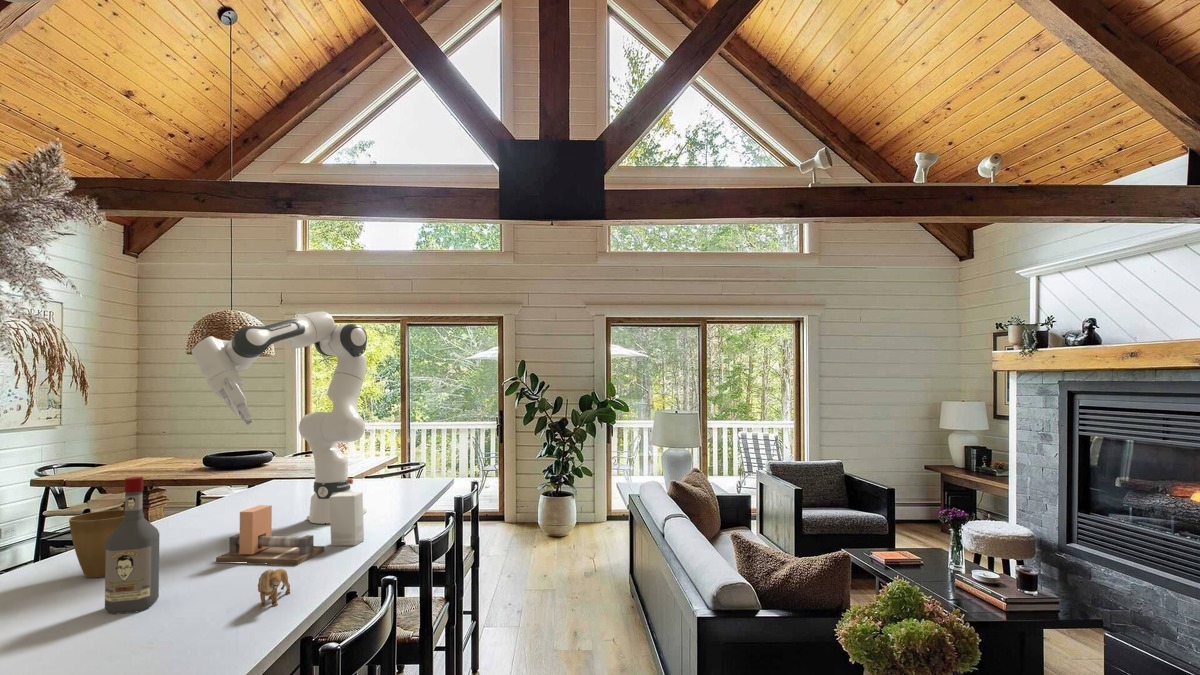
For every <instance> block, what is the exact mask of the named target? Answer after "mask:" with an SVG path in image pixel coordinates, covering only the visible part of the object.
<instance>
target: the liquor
mask: <svg viewBox="0 0 1200 675" xmlns="http://www.w3.org/2000/svg"><path fill="white" fill-rule="evenodd" d="M143 491H144V476H133V477H132V476H131V477H127V478H125V479H124V493H125V497H124V498H125V499H124V500H125V501H124V510H125V515H124V517H123V521H122V523H121V524H120V525H119V526H118V527H117V528H116V529H115V530H114V531H113V532H112V534H111V535H110V536H109V537H108V539H107V541H106V565H105V576H104V583H105V584H104V609H105V611H106V613H108V614H112V615H117V613H121V614H127V613H126V612H131V613H137V612H136V611H138V612H141V610H142V611H145V610H148V609H150V608H151V607H152V606H153V605H154V604H155V603H157V601H158V599H159V596H160V594H159V593H160V589H159V588H160V531H159V530H158V529H157V527H155V526H154V524H152V523H151V522H150V521H148V520H147V519H146V518H145V514H144V511H143V509H144V508H143ZM149 607H150V608H149ZM144 609H145V610H144Z"/></svg>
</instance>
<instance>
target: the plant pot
mask: <svg viewBox="0 0 1200 675" xmlns="http://www.w3.org/2000/svg"><path fill="white" fill-rule="evenodd" d="M124 515H125V509H112V510H111V509H110V510H100V511H93V512H92V511H91V512H87V513H82V514H77V515H74V516H71V517H70V518H69V519H68V522H69V530H70V535H71V539H72V544H73V549H74V552H75V555H76V558H77V560H78V562H79V566H80V568H81V571H82V572H83V574H84V577H85V578H90V579H91V578H102V577H104V578H105V565H106V541H107V539H108V537H109V536H110V535H111V534H112V532H113V531H114V530H115V529H116V528H117V527H118V526H119V525H120V524H121V523H122V521H123V517H124Z"/></svg>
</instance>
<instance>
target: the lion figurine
mask: <svg viewBox="0 0 1200 675" xmlns="http://www.w3.org/2000/svg"><path fill="white" fill-rule="evenodd" d="M281 582H282V586H281V587H280V590H281V591H282V590H283V591H284V590H285V587H286V590H285V592H284V594H285V595H290V594H291V584H290V583H289V576H288V572H287V570H285V569H283V568H279V569H275V570H274V569H268V570H265V571H263V573H261V575H260V577H259V578H258V584H257V592H258V593H260V594H259V597H260V601H261V604H260V605H259V608H260V607H264V608H265V607H266V605H267V604H266V597H268V599H271V606H272V607H277V606H279V604H278V600H277V599H278V597H277V596H278V588H279V586H280V585H281Z"/></svg>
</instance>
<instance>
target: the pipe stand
mask: <svg viewBox="0 0 1200 675" xmlns="http://www.w3.org/2000/svg"><path fill="white" fill-rule="evenodd" d="M314 541H315V540H314V535H313V534H311V535H310V534H307V535H305V536H281V535H280V536H279V535H272V536H258V546H260V547H268V548H266V549H263V550H261V551H259V552H257V553H254V554H239V545H240V533H236V534H234V535H232V536H229V542H228V544H229V545H228V548H229V549H228V550H229V551H228V552H226V553H222V554H221V555H219V556H217V557H215V563H216V562H247V563H267V564H266V565H271V564H279V565H280V566H299V565H301V564H302V562H303V563H305V562H306V561H309V560H310V559H312V558H314V557H316V556H318V555H320V554H321V553H324V552H325V545H314ZM304 561H305V562H304ZM300 563H301V564H300ZM298 564H299V565H298ZM279 565H278V566H279Z"/></svg>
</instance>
